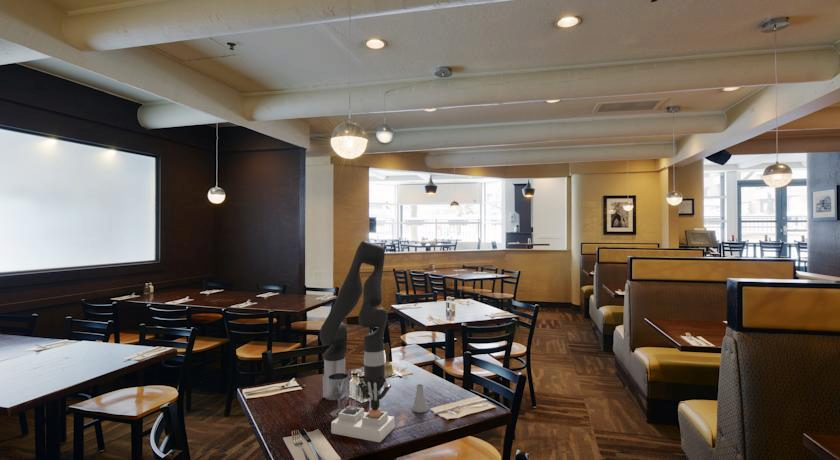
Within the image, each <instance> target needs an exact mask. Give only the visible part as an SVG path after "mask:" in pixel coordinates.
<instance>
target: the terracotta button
mask: <svg viewBox="0 0 840 460" xmlns="http://www.w3.org/2000/svg"><path fill="white" fill-rule="evenodd" d="M381 411H382V408H381V407H380V406H379V408H378V409H377V410H372V408H371V407H370V408H369V409H368V412H369V418H375V419H379V418H380V417H381Z"/></svg>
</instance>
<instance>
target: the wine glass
mask: <svg viewBox="0 0 840 460" xmlns="http://www.w3.org/2000/svg"><path fill="white" fill-rule="evenodd" d="M348 386H349V374H348V373H346V372H345V373H335V374H331V375H330V376H329V387H330V390H331V392H332V393H333V394H334V395H335V396H336V398H337V400H336V401H337V409H334V410H332V411H331V412H330V413H329V414H330V415H331V416H332V417H336V418H338V413H340V412H341V411H342V410H344V409H345V408H341V400H342V399H341V397H342V395H343V394H344V393H345V391H346V392H347V390H348V388H349V387H348Z"/></svg>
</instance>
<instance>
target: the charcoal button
mask: <svg viewBox="0 0 840 460" xmlns="http://www.w3.org/2000/svg"><path fill="white" fill-rule="evenodd" d="M349 406H350V407H348V406H346V407H347V408H346V407H345V408H346V409H345V408H344V409H345V411H346V414H352V415H354V414H356V413H357V407H358V406H354V405H349Z"/></svg>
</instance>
